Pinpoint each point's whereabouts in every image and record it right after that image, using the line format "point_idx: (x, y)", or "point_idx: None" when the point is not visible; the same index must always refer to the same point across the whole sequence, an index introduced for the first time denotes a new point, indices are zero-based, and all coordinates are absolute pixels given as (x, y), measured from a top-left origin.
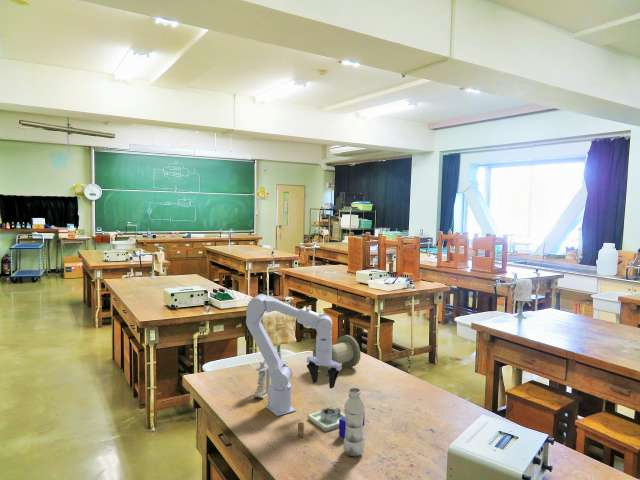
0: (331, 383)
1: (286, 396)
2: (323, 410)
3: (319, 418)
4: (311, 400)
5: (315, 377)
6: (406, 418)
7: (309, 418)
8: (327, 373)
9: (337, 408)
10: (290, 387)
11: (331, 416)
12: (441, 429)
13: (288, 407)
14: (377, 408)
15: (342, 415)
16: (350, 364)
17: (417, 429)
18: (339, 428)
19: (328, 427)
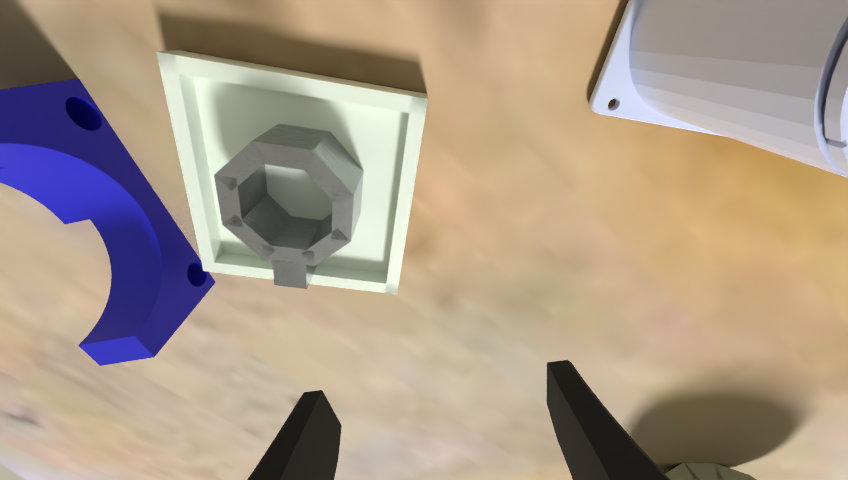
0: (264, 458)
1: (761, 1)
2: (328, 191)
3: (361, 149)
4: (589, 282)
5: (574, 447)
6: (152, 422)
7: (410, 92)
8: (679, 474)
9: (297, 280)
10: (827, 108)
11: (218, 174)
12: (19, 437)
13: (649, 41)
14: (290, 411)
15: None
16: None
17: (42, 395)
18: (16, 88)
19: (166, 78)
